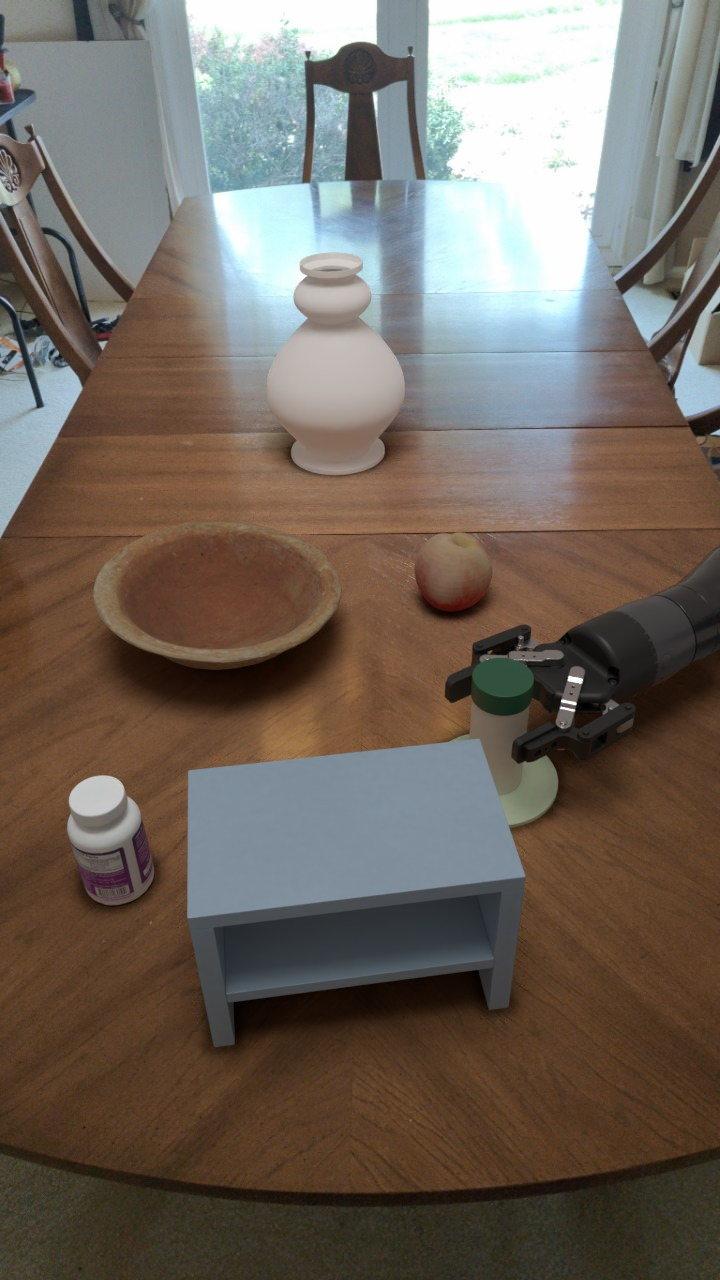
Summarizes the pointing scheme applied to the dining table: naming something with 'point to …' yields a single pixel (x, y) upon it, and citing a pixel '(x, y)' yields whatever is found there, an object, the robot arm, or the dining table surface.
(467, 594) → the fruit
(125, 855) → the pill bottle
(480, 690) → the spice bottle
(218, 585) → the bowl
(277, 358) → the decorative vase
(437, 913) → the shelf
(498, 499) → the dining table surface
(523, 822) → the mat
